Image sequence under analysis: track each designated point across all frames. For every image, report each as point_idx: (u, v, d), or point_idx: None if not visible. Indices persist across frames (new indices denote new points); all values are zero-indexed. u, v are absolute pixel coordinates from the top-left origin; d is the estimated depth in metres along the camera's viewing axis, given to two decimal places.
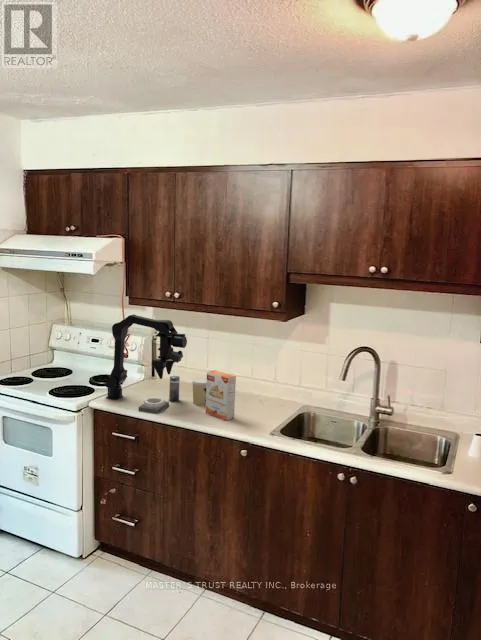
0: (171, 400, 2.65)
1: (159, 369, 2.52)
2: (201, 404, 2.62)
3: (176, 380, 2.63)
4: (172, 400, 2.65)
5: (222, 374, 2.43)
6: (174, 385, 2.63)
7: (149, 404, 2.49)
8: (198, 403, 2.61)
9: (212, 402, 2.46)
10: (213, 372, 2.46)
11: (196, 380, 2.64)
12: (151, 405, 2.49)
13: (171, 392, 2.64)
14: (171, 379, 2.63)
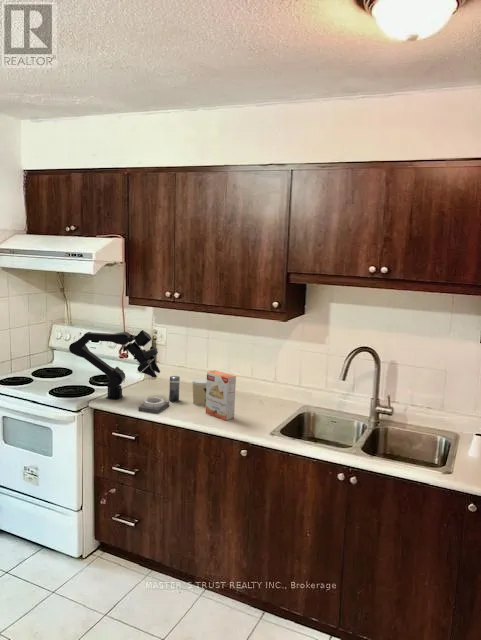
0: (171, 400, 2.65)
1: (148, 371, 2.59)
2: (201, 404, 2.62)
3: (176, 380, 2.63)
4: (172, 400, 2.65)
5: (222, 374, 2.43)
6: (174, 385, 2.63)
7: (149, 404, 2.49)
8: (198, 403, 2.61)
9: (212, 402, 2.46)
10: (213, 372, 2.46)
11: (196, 380, 2.64)
12: (151, 405, 2.49)
13: (171, 392, 2.64)
14: (171, 379, 2.63)
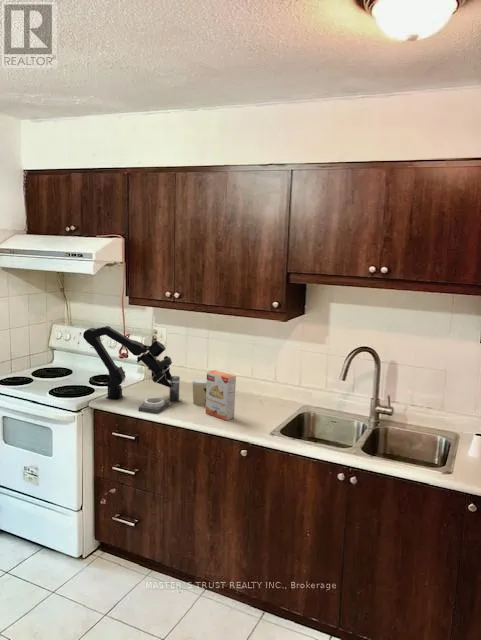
0: (171, 400, 2.65)
1: (163, 381, 2.60)
2: (201, 404, 2.62)
3: (176, 380, 2.63)
4: (172, 400, 2.65)
5: (222, 374, 2.43)
6: (174, 385, 2.63)
7: (149, 404, 2.49)
8: (198, 403, 2.61)
9: (212, 402, 2.46)
10: (213, 372, 2.46)
11: (196, 380, 2.64)
12: (151, 405, 2.49)
13: (171, 392, 2.64)
14: (171, 379, 2.63)
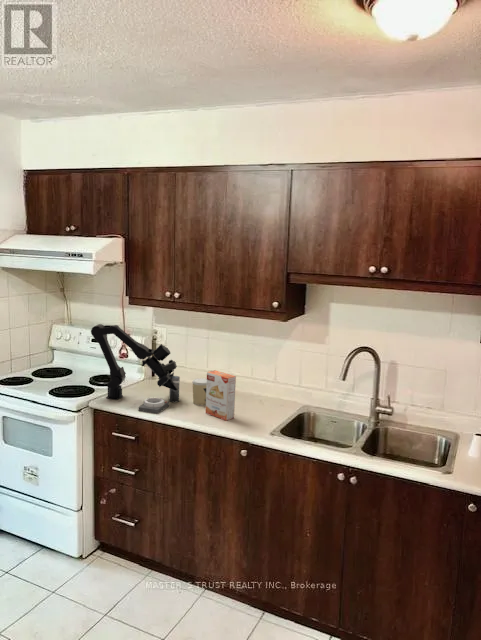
0: (171, 400, 2.65)
1: (168, 384, 2.62)
2: (201, 404, 2.62)
3: (176, 380, 2.63)
4: (172, 400, 2.65)
5: (222, 374, 2.43)
6: None
7: (149, 404, 2.49)
8: (198, 403, 2.61)
9: (212, 402, 2.46)
10: (213, 372, 2.46)
11: (196, 380, 2.64)
12: (151, 405, 2.49)
13: (171, 392, 2.64)
14: (171, 379, 2.63)
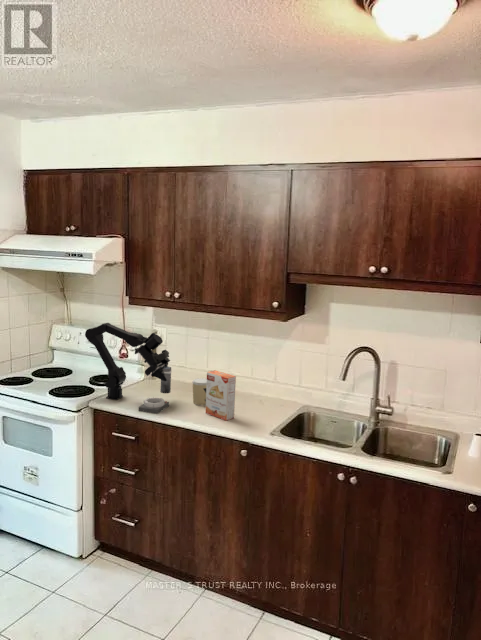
0: (161, 391, 2.57)
1: (158, 374, 2.54)
2: (201, 404, 2.62)
3: (166, 371, 2.55)
4: (162, 391, 2.57)
5: (222, 374, 2.43)
6: None
7: (149, 404, 2.49)
8: (198, 403, 2.61)
9: (212, 402, 2.46)
10: (213, 372, 2.46)
11: (196, 380, 2.64)
12: (151, 405, 2.49)
13: (161, 383, 2.56)
14: (162, 369, 2.55)
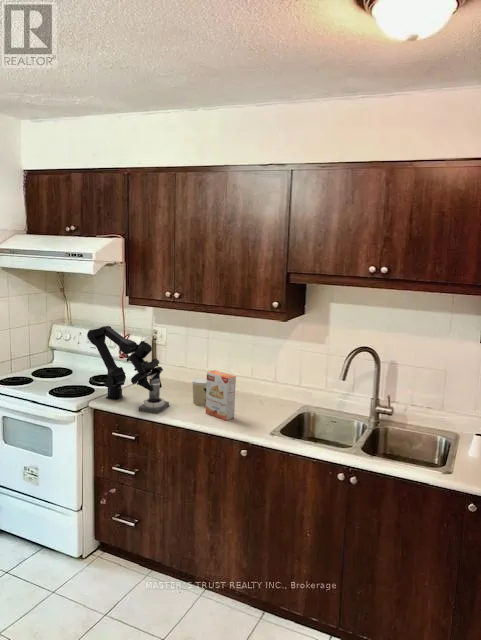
0: None
1: (144, 383, 2.49)
2: (201, 404, 2.62)
3: (154, 382, 2.50)
4: None
5: (222, 374, 2.43)
6: None
7: (149, 404, 2.49)
8: (198, 403, 2.61)
9: (212, 402, 2.46)
10: (213, 372, 2.46)
11: (196, 380, 2.64)
12: (151, 405, 2.49)
13: (149, 395, 2.52)
14: None
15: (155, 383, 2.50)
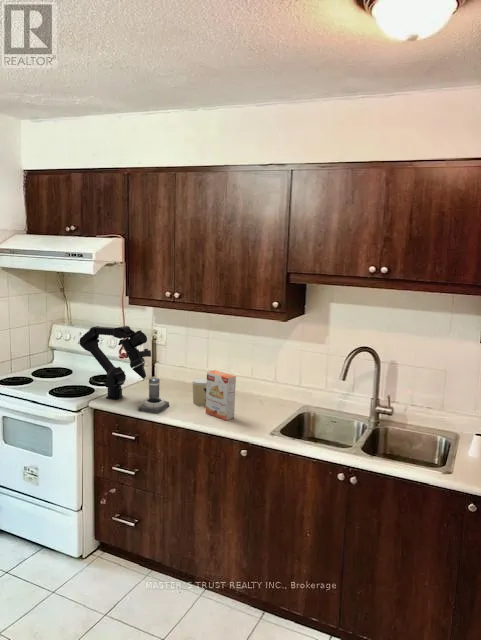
0: None
1: (139, 369, 2.54)
2: (201, 404, 2.62)
3: (153, 383, 2.50)
4: None
5: (222, 374, 2.43)
6: (151, 388, 2.50)
7: (149, 404, 2.49)
8: (198, 403, 2.61)
9: (212, 402, 2.46)
10: (213, 372, 2.46)
11: (196, 380, 2.64)
12: (151, 405, 2.49)
13: (149, 395, 2.52)
14: (149, 381, 2.51)
15: (155, 383, 2.50)
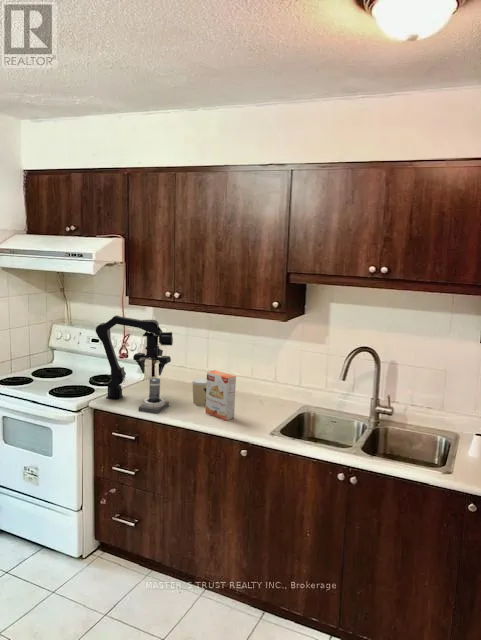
0: None
1: (161, 366, 2.64)
2: (201, 404, 2.62)
3: (154, 383, 2.50)
4: None
5: (222, 374, 2.43)
6: (151, 388, 2.50)
7: (149, 404, 2.49)
8: (198, 403, 2.61)
9: (212, 402, 2.46)
10: (213, 372, 2.46)
11: (196, 380, 2.64)
12: (151, 405, 2.49)
13: (149, 395, 2.52)
14: (150, 381, 2.51)
15: (155, 383, 2.50)
